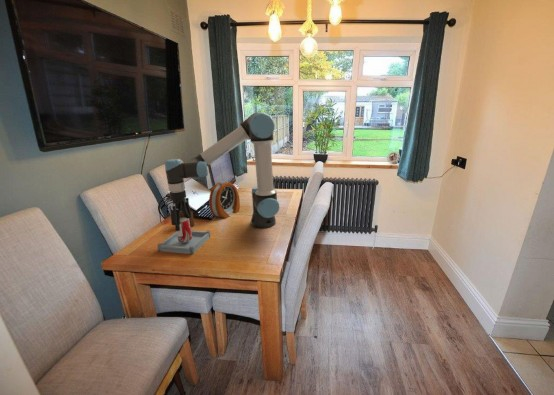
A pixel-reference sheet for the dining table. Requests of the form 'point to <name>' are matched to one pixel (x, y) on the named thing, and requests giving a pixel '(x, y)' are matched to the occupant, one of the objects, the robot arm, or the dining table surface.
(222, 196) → the alarm clock
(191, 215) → the mug
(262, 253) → the dining table surface
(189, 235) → the soda can
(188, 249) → the grey shallow square tray
